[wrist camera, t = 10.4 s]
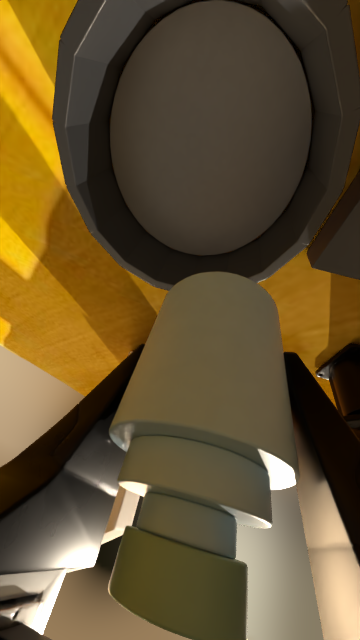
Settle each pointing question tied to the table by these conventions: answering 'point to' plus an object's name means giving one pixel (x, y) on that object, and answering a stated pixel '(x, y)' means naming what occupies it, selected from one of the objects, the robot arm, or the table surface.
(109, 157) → the bottle warmer
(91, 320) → the table surface
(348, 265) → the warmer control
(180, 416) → the bottle
